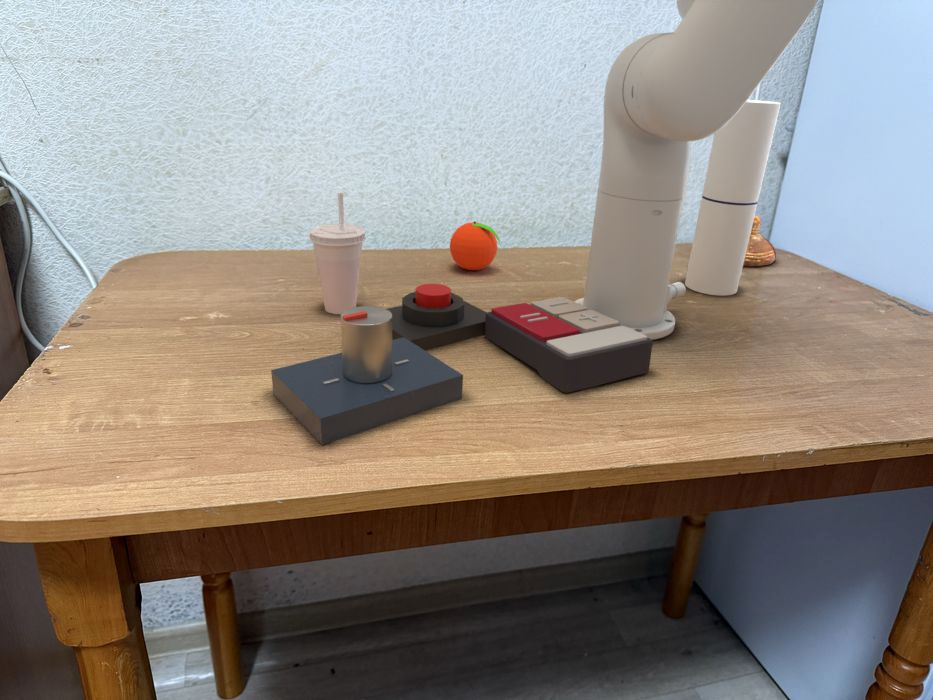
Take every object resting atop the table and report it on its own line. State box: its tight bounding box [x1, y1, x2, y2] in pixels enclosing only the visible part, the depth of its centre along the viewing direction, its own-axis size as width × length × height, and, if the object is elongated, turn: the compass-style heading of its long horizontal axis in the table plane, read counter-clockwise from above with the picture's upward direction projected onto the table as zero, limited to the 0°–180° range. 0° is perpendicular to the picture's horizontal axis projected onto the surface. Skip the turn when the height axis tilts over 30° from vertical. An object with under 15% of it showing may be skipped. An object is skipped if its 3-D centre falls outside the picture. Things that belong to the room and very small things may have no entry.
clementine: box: [449, 221, 502, 272], centre depth 93 cm, size 8×7×7 cm
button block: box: [385, 291, 488, 351], centre depth 73 cm, size 12×9×4 cm
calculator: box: [484, 296, 654, 394], centre depth 68 cm, size 11×4×15 cm
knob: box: [340, 305, 392, 383], centre depth 57 cm, size 4×4×6 cm
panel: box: [270, 337, 464, 446], centre depth 58 cm, size 14×10×3 cm
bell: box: [743, 215, 777, 267], centre depth 106 cm, size 12×12×7 cm
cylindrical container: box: [684, 99, 782, 297], centre depth 87 cm, size 7×7×25 cm
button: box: [414, 283, 452, 308], centre depth 72 cm, size 4×4×2 cm
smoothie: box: [308, 192, 366, 315], centre depth 75 cm, size 6×6×14 cm
